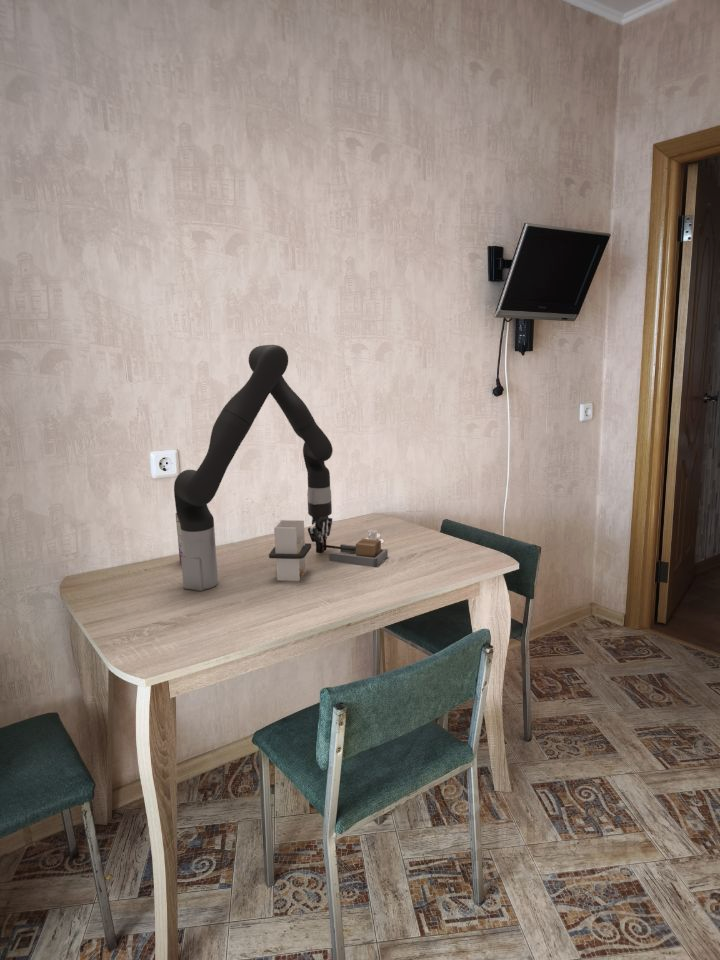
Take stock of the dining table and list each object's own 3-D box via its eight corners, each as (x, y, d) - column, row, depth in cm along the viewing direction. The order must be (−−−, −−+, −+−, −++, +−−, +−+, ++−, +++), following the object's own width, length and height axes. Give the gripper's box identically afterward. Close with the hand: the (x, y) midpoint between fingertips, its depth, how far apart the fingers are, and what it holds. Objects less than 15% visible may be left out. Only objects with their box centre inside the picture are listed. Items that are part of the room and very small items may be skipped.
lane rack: (376, 567, 201) (376, 559, 200) (328, 560, 207) (328, 553, 206) (387, 556, 209) (387, 549, 209) (341, 551, 216) (341, 543, 215)
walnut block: (373, 564, 203) (373, 546, 202) (314, 557, 211) (313, 539, 210) (380, 558, 208) (380, 540, 207) (322, 551, 216) (321, 533, 215)
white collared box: (325, 594, 182) (323, 538, 178) (239, 592, 185) (235, 536, 181) (338, 563, 206) (337, 512, 202) (262, 561, 209) (259, 511, 205)
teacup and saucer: (374, 537, 231) (374, 525, 230) (390, 542, 225) (390, 530, 224) (355, 542, 225) (355, 531, 224) (371, 548, 219) (371, 536, 218)
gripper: (318, 493, 217) (320, 544, 221) (298, 504, 204) (300, 557, 208) (339, 495, 214) (340, 546, 218) (320, 506, 201) (322, 560, 205)
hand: (321, 551), depth 213 cm, fingers closed on walnut block, 2 cm apart
